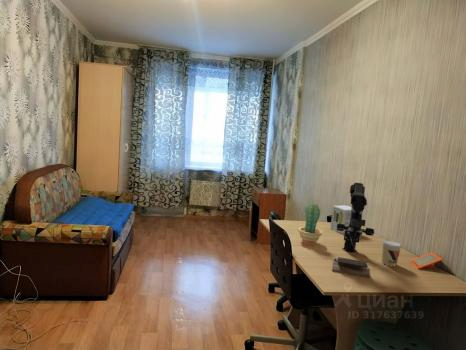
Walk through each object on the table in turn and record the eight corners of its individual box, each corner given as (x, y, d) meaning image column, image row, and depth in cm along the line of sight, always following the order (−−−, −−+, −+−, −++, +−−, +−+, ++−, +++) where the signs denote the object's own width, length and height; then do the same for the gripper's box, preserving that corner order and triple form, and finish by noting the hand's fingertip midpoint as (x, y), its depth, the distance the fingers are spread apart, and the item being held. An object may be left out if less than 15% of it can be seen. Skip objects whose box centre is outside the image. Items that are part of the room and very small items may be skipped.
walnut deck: (333, 261, 201) (333, 257, 201) (367, 267, 196) (368, 264, 196) (332, 271, 187) (332, 266, 187) (369, 278, 182) (369, 273, 182)
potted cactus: (319, 240, 239) (324, 202, 236) (323, 247, 224) (327, 208, 221) (295, 237, 241) (300, 200, 237) (297, 244, 225) (302, 205, 222)
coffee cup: (387, 267, 200) (390, 246, 198) (376, 260, 209) (379, 240, 207) (401, 266, 202) (404, 246, 201) (390, 260, 211) (393, 240, 210)
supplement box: (329, 228, 270) (332, 205, 268) (342, 227, 277) (345, 205, 274) (342, 234, 259) (345, 210, 256) (356, 232, 265) (359, 209, 263)
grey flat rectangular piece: (337, 260, 199) (337, 256, 200) (364, 265, 195) (364, 261, 196) (337, 261, 188) (337, 257, 188) (366, 266, 184) (366, 262, 184)
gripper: (338, 210, 191) (335, 239, 186) (376, 215, 186) (374, 246, 181) (338, 215, 201) (334, 243, 197) (374, 220, 196) (371, 249, 191)
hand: (353, 245), depth 191 cm, fingers closed
